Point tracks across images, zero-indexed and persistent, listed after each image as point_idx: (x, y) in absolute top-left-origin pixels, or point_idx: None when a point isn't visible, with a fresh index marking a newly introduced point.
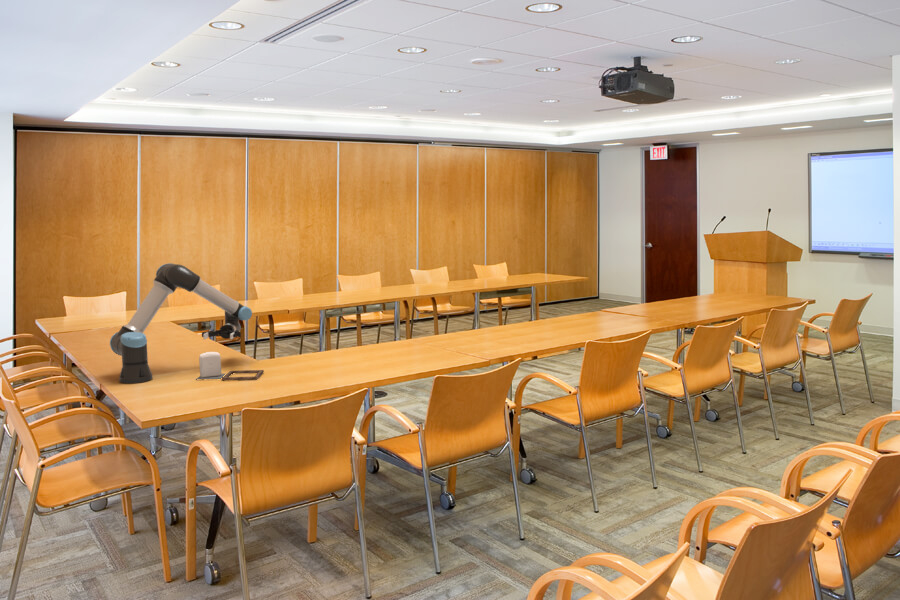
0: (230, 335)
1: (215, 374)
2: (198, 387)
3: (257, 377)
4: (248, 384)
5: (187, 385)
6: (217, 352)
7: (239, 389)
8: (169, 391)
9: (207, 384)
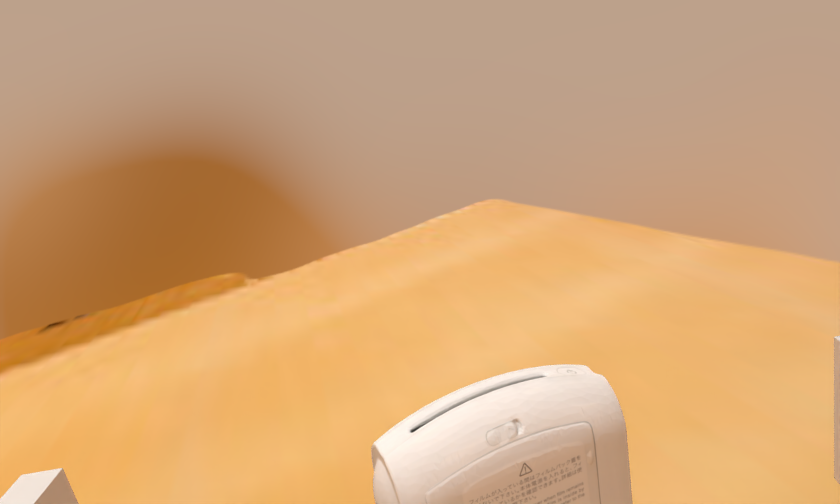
0: (66, 500)
1: None
2: None
3: None
4: (175, 465)
5: None
6: (400, 444)
7: (240, 389)
8: (615, 327)
9: None
